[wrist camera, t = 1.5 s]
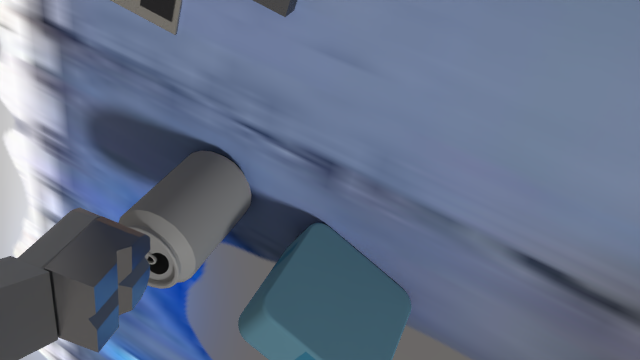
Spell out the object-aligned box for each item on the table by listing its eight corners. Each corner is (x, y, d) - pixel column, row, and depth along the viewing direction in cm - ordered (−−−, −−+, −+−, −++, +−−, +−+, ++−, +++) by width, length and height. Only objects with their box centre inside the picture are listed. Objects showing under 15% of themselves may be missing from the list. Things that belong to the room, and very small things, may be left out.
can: (232, 225, 59) (161, 309, 50) (175, 174, 58) (92, 250, 49) (270, 186, 54) (198, 271, 45) (207, 130, 53) (122, 206, 44)
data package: (292, 238, 56) (229, 329, 47) (317, 214, 53) (255, 306, 44) (387, 318, 57) (343, 422, 48) (416, 298, 54) (375, 405, 45)
